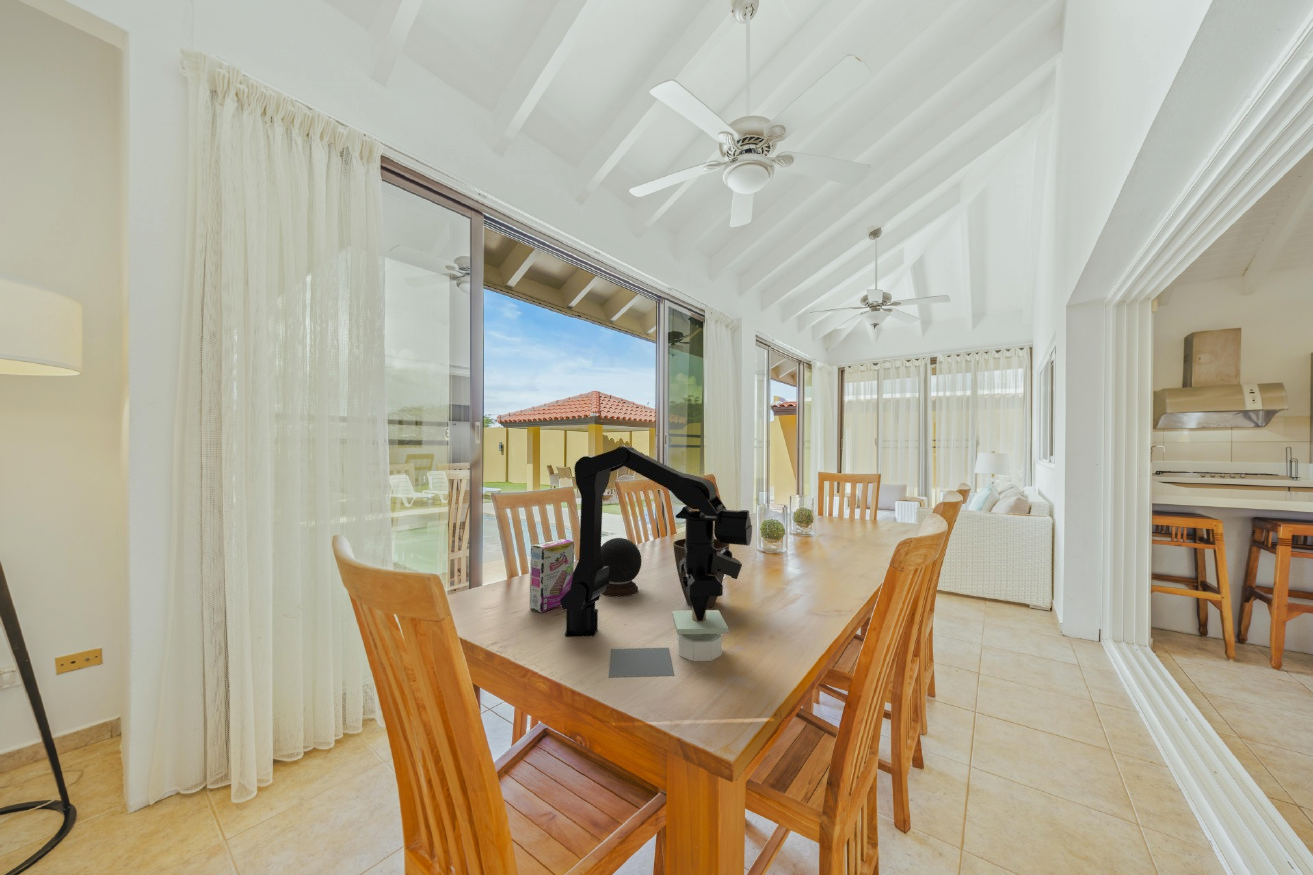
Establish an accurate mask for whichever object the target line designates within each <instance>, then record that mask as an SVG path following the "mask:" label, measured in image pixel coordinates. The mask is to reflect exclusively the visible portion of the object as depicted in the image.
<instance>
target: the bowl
mask: <svg viewBox="0 0 1313 875" xmlns="http://www.w3.org/2000/svg"><path fill="white" fill-rule="evenodd" d="M722 637H723V636H722V633H721V634H677V633H676V640H677V643H676V650H677V654H678V656H679V657H681V658H684V659H686V660H689V661H692V662H710V661H714V660H715V659H717V658H719V657H721V656H722V655H723V654H722V650H723V648H722V642H723V641H722V640H723V638H722Z"/></svg>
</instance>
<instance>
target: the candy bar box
mask: <svg viewBox="0 0 1313 875" xmlns="http://www.w3.org/2000/svg"><path fill="white" fill-rule="evenodd" d="M574 561H575V541H574V540H569V539H564V538H561V539H557V540H556V539H555V540H552V541H548V542H542V543H538V544H532V545H530V570H529V571H530V578H529V581H530V582H529V584H530V585H529V609H530V610H532V611H535V612H537V613H540V614H541V613H544V612H545V613H546V612H547V611H550V610H553V609H555V608H558V607H562V606H561V603H560V599H561V598H562V597H563V596H564V595H565V594H566V593H567V592H568V591H569V590H570V586H571V581H572V576H573V572H574V570H575V568H574V565H575V564H574V563H575V562H574Z"/></svg>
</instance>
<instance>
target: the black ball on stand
mask: <svg viewBox="0 0 1313 875" xmlns="http://www.w3.org/2000/svg"><path fill="white" fill-rule="evenodd" d="M601 561H602V563H603V565H604V566H609V569H610V570H609V576H608V577H609V582H610V583H609V584H608V585H607V588H606V590H605V591H604V592H603V593H602V594H601V595H602V596H606V597H614V598H624V597H630V596H632V595H635V594H637V593H638V591H639V587H638V585H637V584H636V583H635V582H634V581H633V580H635V578H636V577H637V576H638V574H639V572H641V571H640V570H641V568H642V554H641V552H640V550H639V547H638V546H637V545H636V544H635V543H634V542H633V541H631V540H629V539H627V538H624V537H623V538H622V537H615V538H610V539H609V540H607V541H606V542H604V543H602V544H601Z"/></svg>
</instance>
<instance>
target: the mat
mask: <svg viewBox="0 0 1313 875" xmlns="http://www.w3.org/2000/svg"><path fill="white" fill-rule="evenodd" d="M609 655H610V656H609V669H608V678H611V679H612V678H613V679H614V678H639V677H640V678H641V677H643V678H644V677H647V678H649V677H675V676H676V675H675V671H674V666H673V661H672V657H671V652H670V647H637V648H636V647H635V648H634V647H633V648H632V647H631V648H630V647H629V648H610V654H609Z"/></svg>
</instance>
